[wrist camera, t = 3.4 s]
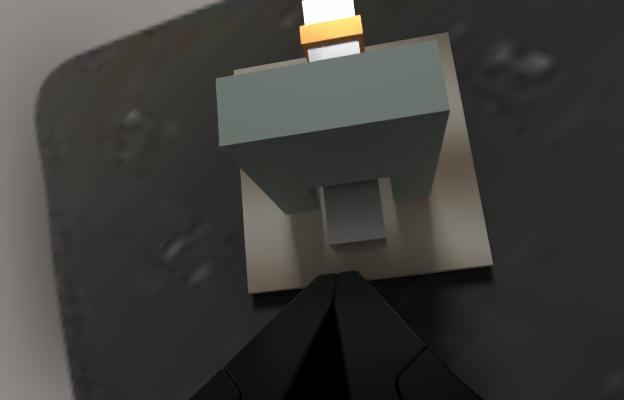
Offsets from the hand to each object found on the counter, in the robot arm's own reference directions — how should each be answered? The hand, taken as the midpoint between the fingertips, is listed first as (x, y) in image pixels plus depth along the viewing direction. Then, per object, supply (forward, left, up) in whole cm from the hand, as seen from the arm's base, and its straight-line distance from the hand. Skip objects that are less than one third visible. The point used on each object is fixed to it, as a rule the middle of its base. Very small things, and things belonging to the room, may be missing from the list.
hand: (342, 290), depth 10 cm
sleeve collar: (+5, +3, -10) cm, 12 cm away
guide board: (+5, +3, -12) cm, 13 cm away
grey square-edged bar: (+6, +4, -11) cm, 13 cm away
